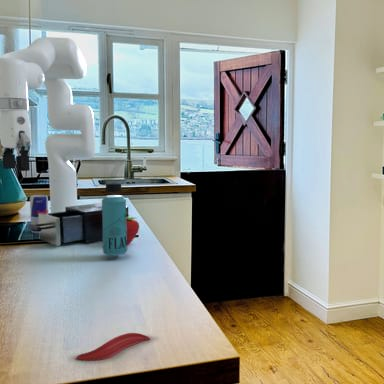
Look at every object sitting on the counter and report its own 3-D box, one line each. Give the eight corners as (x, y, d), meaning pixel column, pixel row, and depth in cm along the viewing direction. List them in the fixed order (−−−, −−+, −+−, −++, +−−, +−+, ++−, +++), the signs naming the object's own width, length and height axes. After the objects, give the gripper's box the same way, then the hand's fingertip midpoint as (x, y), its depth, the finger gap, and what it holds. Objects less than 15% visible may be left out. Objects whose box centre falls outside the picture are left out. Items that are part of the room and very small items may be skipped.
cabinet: (86, 244, 142) (85, 212, 140) (66, 237, 150) (65, 206, 149) (128, 236, 152) (128, 206, 151) (107, 230, 161) (107, 202, 159)
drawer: (41, 248, 133) (40, 220, 132) (24, 241, 140) (23, 215, 139) (99, 238, 145) (99, 213, 144) (81, 232, 153) (80, 208, 152)
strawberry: (111, 244, 142) (110, 210, 141) (136, 241, 146) (135, 209, 145) (117, 248, 137) (116, 214, 136) (142, 245, 141) (142, 212, 140)
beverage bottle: (105, 262, 123) (103, 184, 120) (100, 256, 129) (98, 182, 126) (130, 259, 126) (129, 183, 123) (124, 253, 132) (122, 181, 129)
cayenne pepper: (79, 364, 70) (78, 352, 70) (72, 351, 74) (72, 339, 74) (157, 346, 76) (157, 335, 76) (147, 335, 80) (147, 324, 80)
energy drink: (42, 234, 154) (41, 197, 152) (27, 233, 155) (26, 196, 153) (52, 230, 159) (51, 194, 158) (38, 229, 160) (36, 194, 159)
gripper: (40, 105, 126) (43, 171, 128) (14, 107, 138) (17, 167, 140) (11, 104, 120) (14, 172, 122) (-14, 106, 132) (-10, 168, 134)
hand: (16, 169), depth 131 cm, fingers open, 9 cm apart
